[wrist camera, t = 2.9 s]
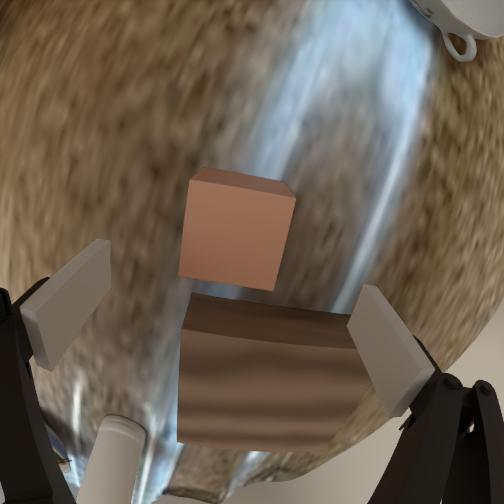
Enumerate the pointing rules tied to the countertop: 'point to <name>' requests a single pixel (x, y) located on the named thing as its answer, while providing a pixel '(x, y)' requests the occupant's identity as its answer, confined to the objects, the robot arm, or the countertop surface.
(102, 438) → the bottle
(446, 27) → the teacup
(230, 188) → the terracotta cube
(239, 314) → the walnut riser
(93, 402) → the countertop surface
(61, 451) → the ramen bowl
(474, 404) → the robot arm
